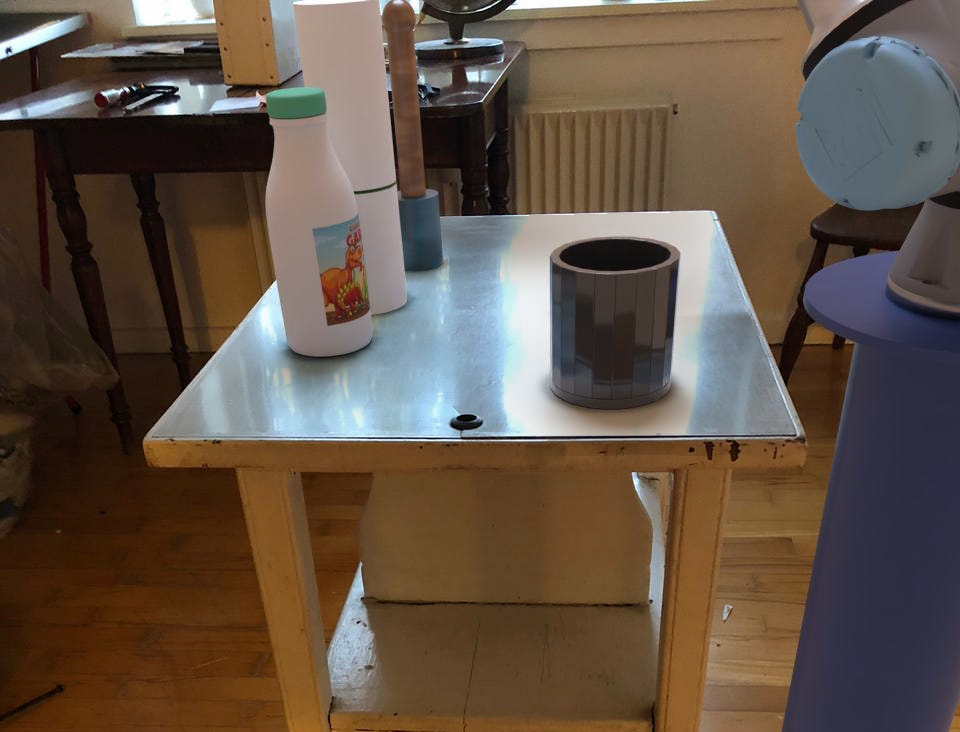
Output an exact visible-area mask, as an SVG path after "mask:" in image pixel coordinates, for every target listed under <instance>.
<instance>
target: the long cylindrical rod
mask: <svg viewBox="0 0 960 732" xmlns="http://www.w3.org/2000/svg"><path fill="white" fill-rule="evenodd" d="M416 22H417V17H416V12H415V10H414V7H413V6H412V5H411V4H410V2H409V1H407V0H390V1H388V2H387V3H386V4H385V6H384V7H383V9H382V13H381V24H382V26H383V29H384V30H385V32H386V34H385V35H386V44H387V55H388V66H389V76H390V77H389V78H390V88H391V100H392V110H393V112H392V113H393V122H394V133H395V142H396V152H397V153H396V154H397V155H396V156H397V166H398V176H399V187H400V190H397V196H398V206H399V217H400V227H401V238H402V248H403V259H404V269H405V271H413V272H414V271H426V270H431V269H435V268H437V267H440V266H441V265H442V264H443V263H444V256H443V255H444V254H443V240H442V239H443V238H442V225H441V210H440V198H439V197H440V196H439V191H437V190H435V189H431V188H426V177H425V164H424V149H423V137H422V124H421V111H420V99H419V98H420V97H419V85H418V71H417V70H418V69H417V60H416V57H417V56H416V45H415V31H414V29H415V27H416Z"/></svg>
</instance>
